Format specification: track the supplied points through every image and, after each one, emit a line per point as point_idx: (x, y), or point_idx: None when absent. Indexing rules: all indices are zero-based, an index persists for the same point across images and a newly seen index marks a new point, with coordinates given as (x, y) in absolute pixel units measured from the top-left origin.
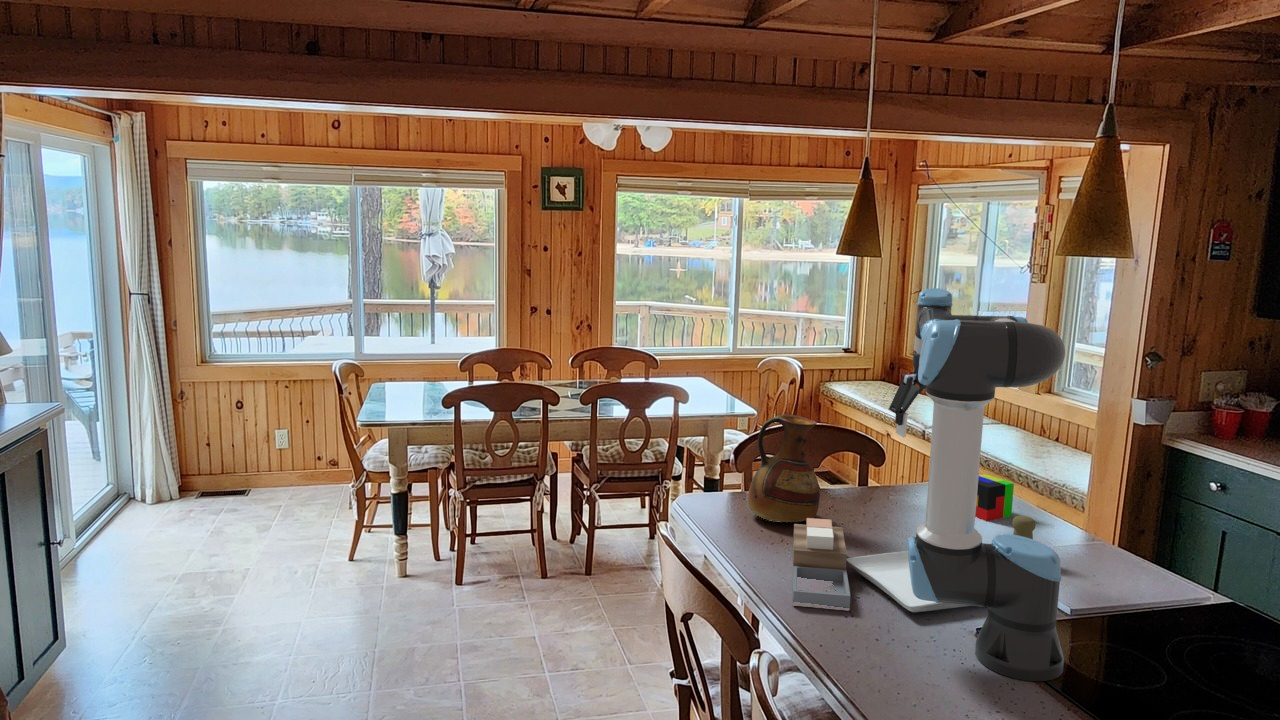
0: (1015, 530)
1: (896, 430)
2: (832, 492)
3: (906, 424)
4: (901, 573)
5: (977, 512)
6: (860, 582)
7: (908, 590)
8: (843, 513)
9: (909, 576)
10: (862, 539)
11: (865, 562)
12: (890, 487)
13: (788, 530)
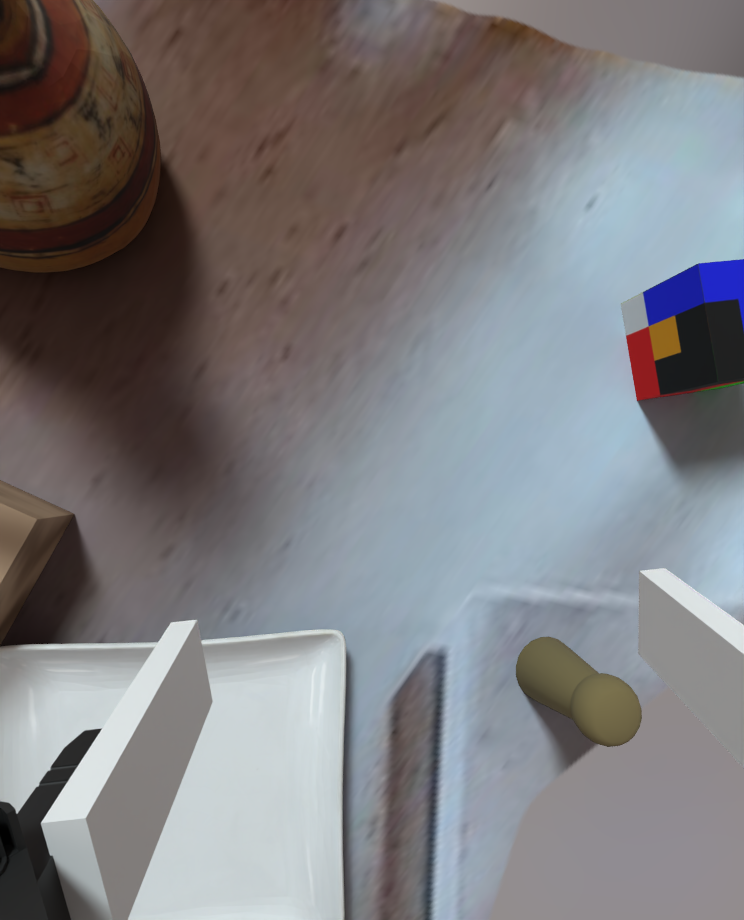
0: (570, 697)
1: (162, 640)
2: (353, 19)
3: (170, 800)
4: None
5: (642, 365)
6: None
7: None
8: (278, 207)
9: None
10: (209, 425)
11: (64, 657)
12: (555, 54)
13: (7, 283)
